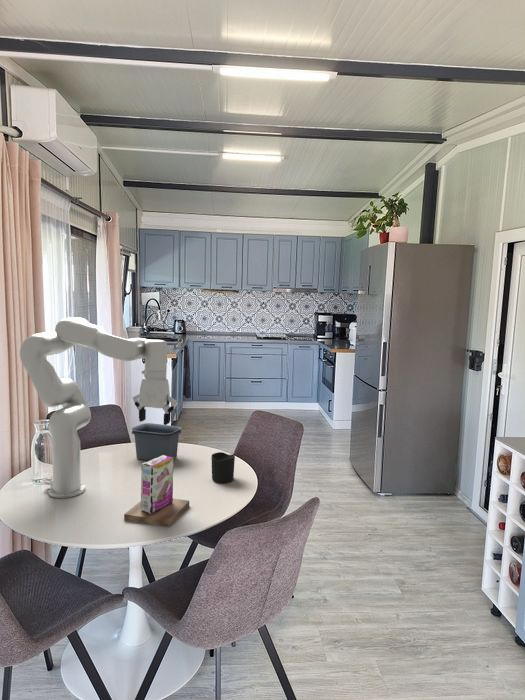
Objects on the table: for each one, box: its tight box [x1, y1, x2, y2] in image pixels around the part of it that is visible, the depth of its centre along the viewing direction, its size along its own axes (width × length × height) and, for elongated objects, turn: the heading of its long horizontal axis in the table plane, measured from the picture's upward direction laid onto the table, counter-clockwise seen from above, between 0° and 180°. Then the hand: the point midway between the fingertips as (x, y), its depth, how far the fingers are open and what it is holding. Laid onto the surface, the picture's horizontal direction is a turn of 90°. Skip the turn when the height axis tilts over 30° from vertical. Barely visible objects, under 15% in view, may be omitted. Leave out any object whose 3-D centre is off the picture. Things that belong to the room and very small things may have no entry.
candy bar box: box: [140, 455, 175, 514], centre depth 156 cm, size 11×5×16 cm, turn 152°
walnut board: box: [123, 498, 190, 528], centre depth 157 cm, size 16×16×2 cm
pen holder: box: [210, 451, 236, 484], centre depth 188 cm, size 9×9×10 cm
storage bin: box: [130, 422, 183, 461], centre depth 212 cm, size 21×16×14 cm
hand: (154, 422), depth 165 cm, fingers open, 9 cm apart
